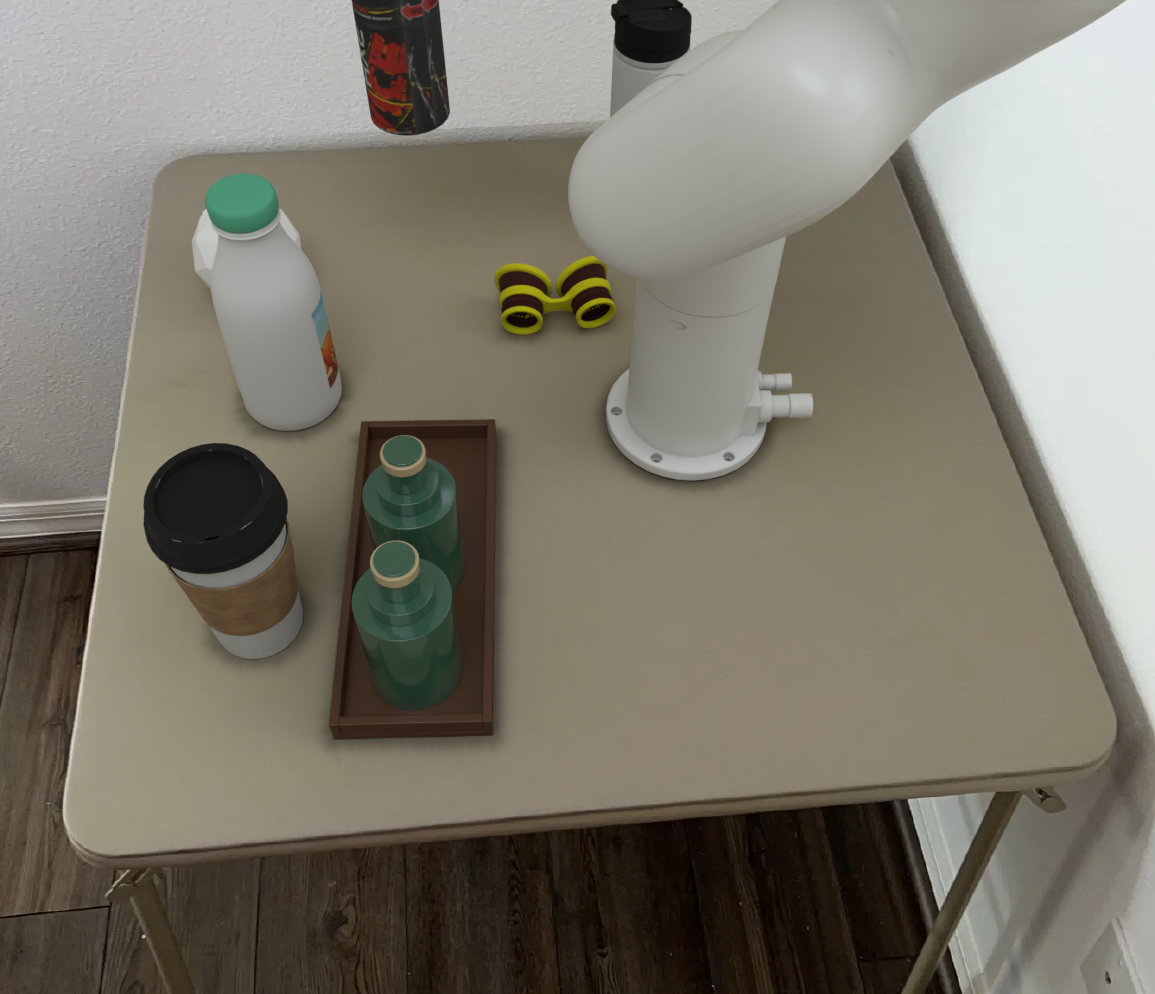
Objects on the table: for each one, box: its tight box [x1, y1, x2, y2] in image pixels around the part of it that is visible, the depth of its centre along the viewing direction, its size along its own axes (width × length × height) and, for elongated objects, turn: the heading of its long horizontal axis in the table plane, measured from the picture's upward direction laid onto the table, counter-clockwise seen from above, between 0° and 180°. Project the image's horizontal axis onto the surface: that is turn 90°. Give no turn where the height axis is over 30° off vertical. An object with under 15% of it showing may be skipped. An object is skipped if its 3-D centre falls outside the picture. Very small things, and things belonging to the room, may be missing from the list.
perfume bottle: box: [191, 208, 302, 290], centre depth 95 cm, size 9×9×12 cm
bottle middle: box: [362, 435, 465, 592], centre depth 74 cm, size 6×6×13 cm
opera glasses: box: [493, 255, 617, 336], centre depth 94 cm, size 10×5×5 cm, turn 99°
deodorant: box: [351, 0, 451, 137], centre depth 79 cm, size 6×6×15 cm
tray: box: [328, 418, 497, 740], centre depth 79 cm, size 10×25×2 cm, turn 2°
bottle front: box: [352, 541, 462, 711], centre depth 70 cm, size 6×6×13 cm
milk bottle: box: [204, 172, 343, 432], centre depth 82 cm, size 8×8×20 cm
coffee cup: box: [142, 442, 304, 660], centre depth 72 cm, size 8×8×15 cm
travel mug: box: [609, 0, 693, 118], centre depth 97 cm, size 6×7×20 cm
